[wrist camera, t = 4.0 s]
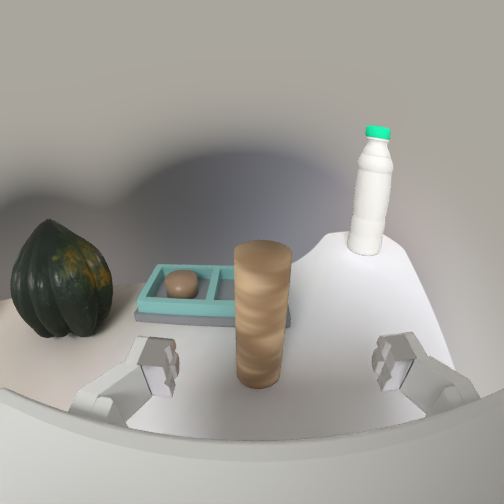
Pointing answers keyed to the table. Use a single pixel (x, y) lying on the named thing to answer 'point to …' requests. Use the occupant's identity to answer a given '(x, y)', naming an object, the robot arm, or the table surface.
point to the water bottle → (371, 193)
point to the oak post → (260, 309)
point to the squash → (60, 282)
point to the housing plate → (190, 296)
